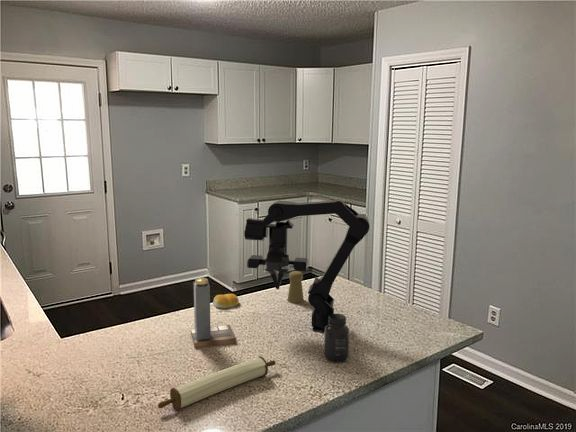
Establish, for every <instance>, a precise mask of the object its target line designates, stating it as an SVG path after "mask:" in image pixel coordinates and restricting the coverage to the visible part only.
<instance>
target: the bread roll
mask: <svg viewBox="0 0 576 432" xmlns="http://www.w3.org/2000/svg"><path fill="white" fill-rule="evenodd" d="M238 304H239V298H238V296H237V295H236V294H235V293H225V294H216V295H215V297H214V298H213V300H212V305H213V306H214V307H215V308H217V309H229V308H234V307H236V306H237V305H238Z"/></svg>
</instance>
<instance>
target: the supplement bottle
mask: <svg viewBox="0 0 576 432" xmlns="http://www.w3.org/2000/svg"><path fill="white" fill-rule="evenodd" d="M328 323H329V324H328V325H326V327H325V331H324V342H323V343H324V344H323V345H324V346H323V348H324V349H323V351H324V352H323V354H324V358H325V359H326V360H327V361H329V362H332V363H343V362H346V361H348V360H349V355H350V328H349V326H348V325H347V316H346V315H344V314H343V313H342V314H341V313H334V314H331V315H329V320H328Z"/></svg>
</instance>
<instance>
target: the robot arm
mask: <svg viewBox="0 0 576 432" xmlns="http://www.w3.org/2000/svg"><path fill="white" fill-rule="evenodd" d="M319 215H336V216H338V217H339V218H340V219H341V220H342V221H343V222H344V223H345V224H346V225H347V226H348V227H347V230H346V233H345V236H344V238H343V240H342V242H341V244H340V246H339V247H338V249H337V250H336V253H335V254H334V256H333V258H332V259H331V261H330V263H329V264H328V266H327V268H326V270H324V271H325V272H324V273H323V274H322V276H321V277H320V278H319V277H317V276H315V277H314V280H313V282H312V284H310V285H309V288H308V291H307V294H308V298H307V301H308V303H309V305H310V306H312V307H313V311H312V313H311V327H312V331H315V332H325V327H326V325H328V324H329V323H328V320H329V315H331V314H335V307H334V304H335V302H334V301H335V298H334V297H333V296H332V295H331V294H330V292H331V290H332V287H333V284H334V282H335V281H336V279H337V277H338V275H339V273H340V271H341V270H342V268H343V267H344V265H345V264H346V261H347V260H348V258H349V257H350V255H351V253H352V251H353V249H354V248H355V247H356V246H357V244H358V243H360V242H361V241H362V240H363V239H364V238H365V236H366V235H367V234H368V233H369V230H370V221H369V217H368V216H367V215H365V214H363V213H358V212H357V211H356V210H355V209H353V208H352V207H351V206H349V205H348V204H347V203H346V202H344V201H343V199H340V198H339V199H335V200H334V199H333V200H321V201H307V202H295V201H289V200H276V201H274V202H272V204H271V205H270V206H269V207H268V209H267V214H266V216H265V217H264V218H263V219H259V218H257V219H256V218H253V217H252V218H250V217H249V218H247V219H246V224H245V229H244V231H243V232H244V233H243V234H244V240H246V241H264V240H265V238H268V252H267V253H266V258H264V256H263V255H258V254H252V255H251V256H249V258H248V259H247V261H246V262H247V263H246V267H247V268H248V269H258V268H259V266H260V265H261V266H265V269H264V271H265V272H267V273H269V275H270V277H271V279H272V281H273V284H274V287H275V290H279V289H280V288H281V284H282V282H283V281H282V280H283V279H284V276H285V273H289V271H290V269H291V268H292V267H293V269H294V271H299V272H307V270H308V267H309V259H308V258H306V257H295V258H294V260H291V259H290V255H289V254H288V229H290V230H292V229H293V228H294V226H295V225H294V223H292V222H291V220H290V219H294V218H297V217H306V216H319ZM274 222H275V223H274Z"/></svg>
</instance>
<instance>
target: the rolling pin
mask: <svg viewBox="0 0 576 432" xmlns="http://www.w3.org/2000/svg"><path fill="white" fill-rule="evenodd" d="M276 364H277V363H276V360H270V361H268V362H267V361H266V359H265V358H264V357H263V356H261V355H260V356H258V357H256V358H254V359H250V360H247V361H244V362H241V363H238V364H236V365H233V366H229V367H228V368H225V369H222V370H219V371H215V372H213V373H211V374H208V375H206V376H203V377H200V378H198V379H196V380H192V381H189V382H187V383H185V384H183V385H180V386H177V387H172V388H170V389H169V396H170V399H166V400H163V401H160V402H159V403H158V404H157V408H158V409H163V408H165V407H167V406H169V405H170V404H171V405H172V407H173V408H174V409H175V410H176V411H180V410H181V409H182V408H184V407H187V406H190V405H191V404H193V403H194V404H195V402H198V401H201V400H203V399H205V398H207V397H211V396H212V395H215V394H217V393H220V392H222V391H225V390H228V389H230V388H233V387H235V386H238V385H241V384H243V383H246V382H248V381H251V380H254V379H257V378H259V377H265V376H267V375H268V372H269V369H268V367H273V366H275V365H276Z"/></svg>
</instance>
